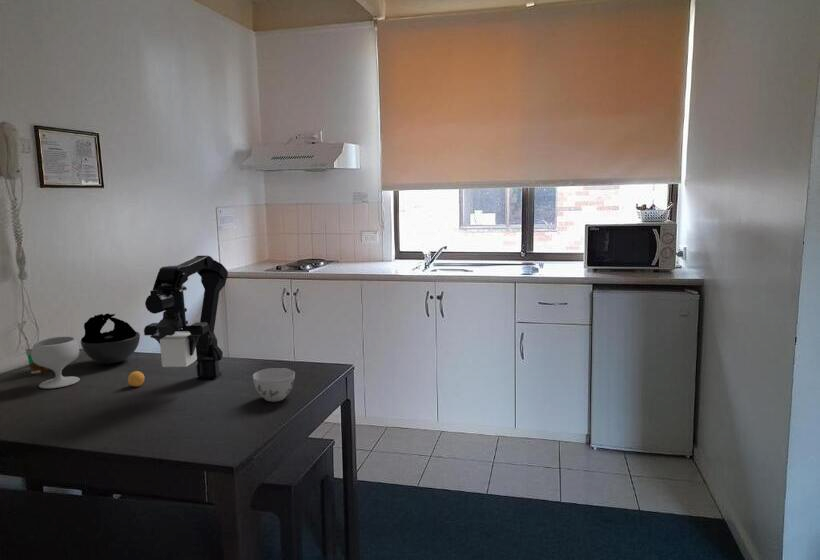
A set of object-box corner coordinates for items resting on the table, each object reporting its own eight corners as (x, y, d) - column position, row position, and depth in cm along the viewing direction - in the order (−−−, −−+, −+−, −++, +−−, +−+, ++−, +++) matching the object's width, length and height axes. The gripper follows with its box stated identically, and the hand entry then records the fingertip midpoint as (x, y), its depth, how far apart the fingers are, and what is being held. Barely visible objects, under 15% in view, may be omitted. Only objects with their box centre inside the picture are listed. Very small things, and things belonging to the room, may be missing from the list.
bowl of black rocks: (91, 358, 232) (86, 311, 229) (146, 353, 237) (141, 307, 234) (76, 373, 213) (70, 322, 210) (136, 367, 218) (131, 317, 215)
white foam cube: (196, 359, 190) (194, 332, 189) (186, 366, 183) (183, 339, 181) (173, 359, 191) (171, 333, 190) (162, 367, 183) (159, 339, 182)
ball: (148, 383, 199) (146, 369, 198) (140, 388, 194) (138, 373, 193) (133, 383, 199) (132, 369, 199) (125, 388, 195) (124, 374, 194)
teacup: (279, 408, 173) (277, 382, 172) (245, 403, 178) (243, 377, 177) (308, 391, 186) (307, 367, 185) (276, 387, 192) (275, 363, 190)
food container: (46, 376, 211) (42, 349, 209) (28, 376, 211) (25, 349, 209) (66, 366, 223) (63, 340, 221) (50, 366, 223) (47, 340, 221)
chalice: (86, 375, 211) (81, 334, 208) (78, 387, 198) (73, 343, 195) (41, 380, 206) (36, 338, 204) (30, 393, 193) (24, 348, 191)
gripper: (132, 312, 177) (137, 363, 179) (192, 311, 176) (197, 362, 178) (150, 305, 188) (155, 352, 190) (208, 304, 186) (212, 352, 189)
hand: (179, 355), depth 187 cm, fingers closed on white foam cube, 8 cm apart
